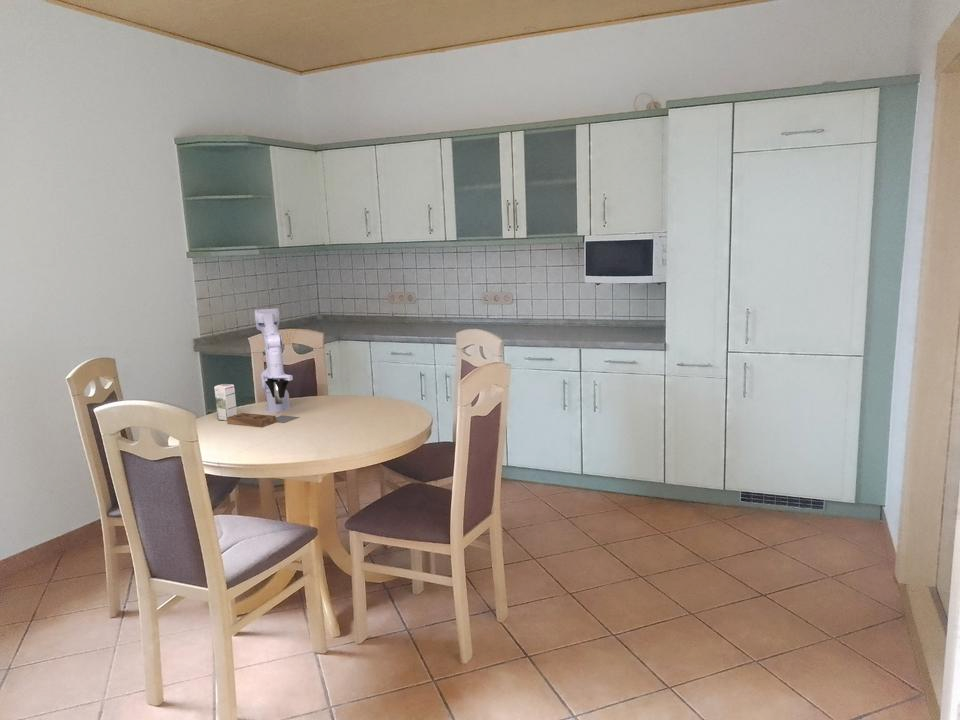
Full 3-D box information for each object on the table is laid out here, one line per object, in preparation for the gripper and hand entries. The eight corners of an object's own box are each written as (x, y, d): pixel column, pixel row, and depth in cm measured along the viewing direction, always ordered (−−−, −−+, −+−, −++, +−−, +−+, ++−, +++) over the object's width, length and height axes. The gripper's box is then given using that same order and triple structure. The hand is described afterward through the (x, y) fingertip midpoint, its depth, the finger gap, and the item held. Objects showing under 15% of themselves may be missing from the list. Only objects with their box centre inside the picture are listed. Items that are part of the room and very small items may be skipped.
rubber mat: (281, 416, 292) (281, 415, 292) (300, 417, 288) (300, 417, 288) (264, 422, 283) (264, 421, 283) (284, 423, 279) (284, 423, 279)
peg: (278, 402, 285) (276, 380, 284) (284, 402, 284) (282, 381, 282) (273, 404, 283) (271, 382, 281) (279, 404, 281) (277, 382, 280)
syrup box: (238, 418, 292) (234, 383, 289) (227, 421, 287) (224, 386, 284) (227, 417, 294) (224, 383, 292) (217, 420, 289) (213, 386, 286)
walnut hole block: (242, 419, 288) (241, 412, 288) (276, 423, 281) (275, 415, 280) (227, 424, 281) (227, 417, 281) (262, 428, 273) (261, 420, 273)
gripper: (254, 365, 280) (257, 398, 282) (283, 366, 274) (286, 400, 276) (266, 362, 286) (269, 394, 289) (294, 363, 280) (297, 396, 283)
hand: (278, 397), depth 283 cm, fingers closed on peg, 3 cm apart
